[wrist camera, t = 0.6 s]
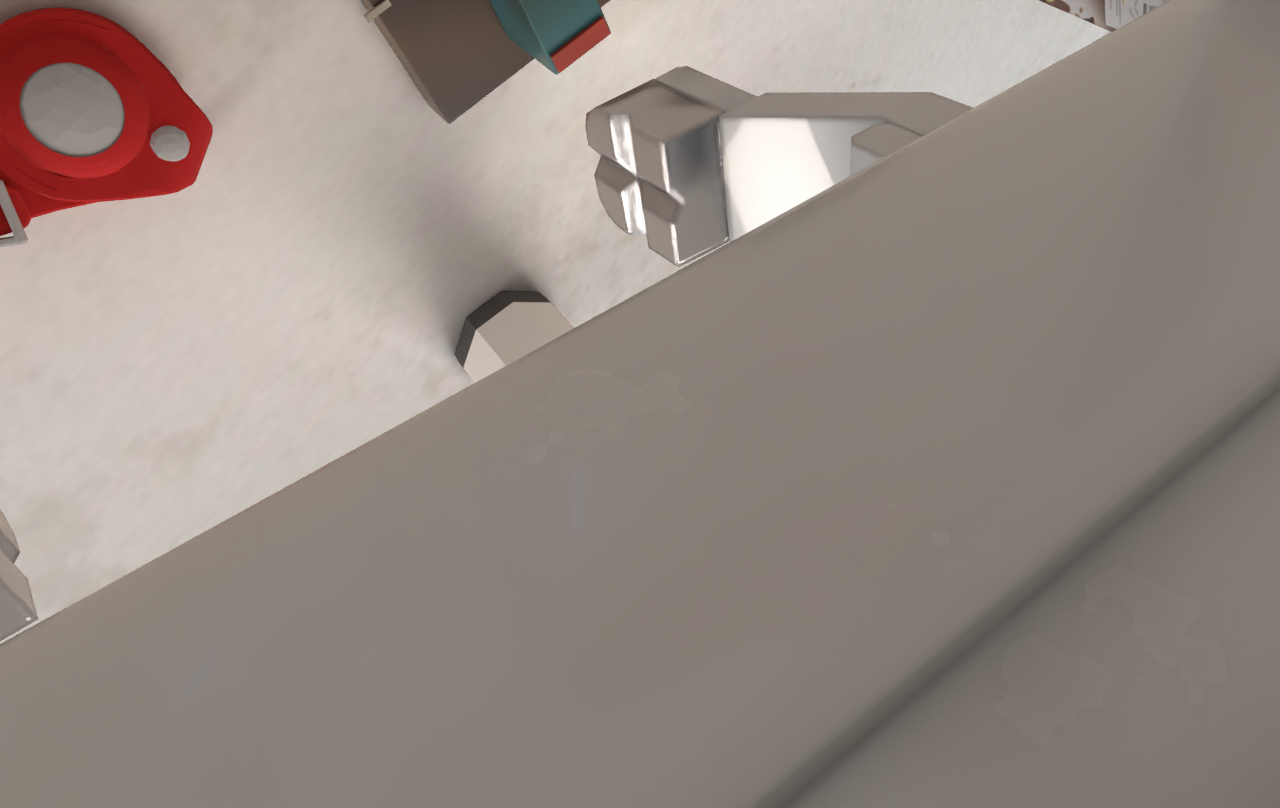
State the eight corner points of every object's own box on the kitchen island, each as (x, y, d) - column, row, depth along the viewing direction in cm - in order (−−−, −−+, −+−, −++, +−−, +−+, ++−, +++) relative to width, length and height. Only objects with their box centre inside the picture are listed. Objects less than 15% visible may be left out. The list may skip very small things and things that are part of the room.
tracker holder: (-18, -36, 37) (242, 77, 43) (-12, -34, 41) (227, 70, 47) (-105, 253, 39) (156, 324, 45) (-93, 231, 43) (148, 299, 49)
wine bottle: (555, 358, 72) (821, 655, 55) (458, 397, 69) (709, 726, 52) (553, 271, 67) (848, 571, 50) (447, 309, 63) (725, 645, 46)
